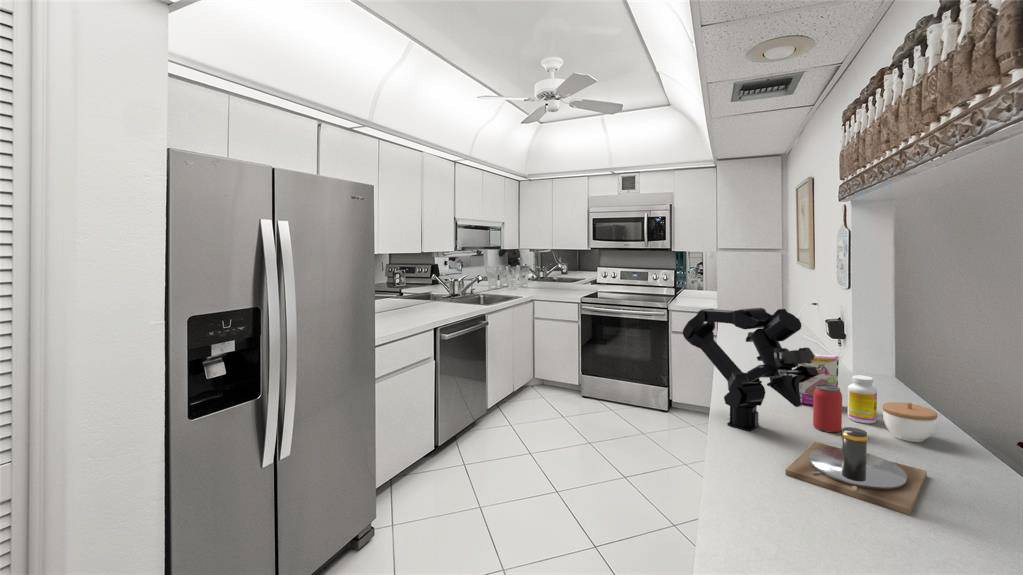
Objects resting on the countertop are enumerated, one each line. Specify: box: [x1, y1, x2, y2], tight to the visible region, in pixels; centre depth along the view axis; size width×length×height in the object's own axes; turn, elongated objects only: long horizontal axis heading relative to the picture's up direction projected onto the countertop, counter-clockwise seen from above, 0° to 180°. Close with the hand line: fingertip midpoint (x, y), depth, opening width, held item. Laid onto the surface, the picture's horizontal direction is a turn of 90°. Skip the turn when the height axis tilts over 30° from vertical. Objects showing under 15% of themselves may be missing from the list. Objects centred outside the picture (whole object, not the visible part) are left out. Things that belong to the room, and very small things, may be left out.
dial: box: [809, 426, 907, 491], centre depth 96 cm, size 17×17×11 cm
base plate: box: [785, 441, 928, 516], centre depth 96 cm, size 21×21×2 cm
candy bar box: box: [795, 353, 840, 406], centre depth 140 cm, size 11×5×16 cm, turn 58°
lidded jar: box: [882, 401, 938, 443], centre depth 114 cm, size 11×11×9 cm
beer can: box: [812, 384, 843, 433], centre depth 121 cm, size 7×7×12 cm
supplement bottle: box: [847, 374, 878, 424], centre depth 126 cm, size 7×7×13 cm
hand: (798, 406), depth 106 cm, fingers closed
